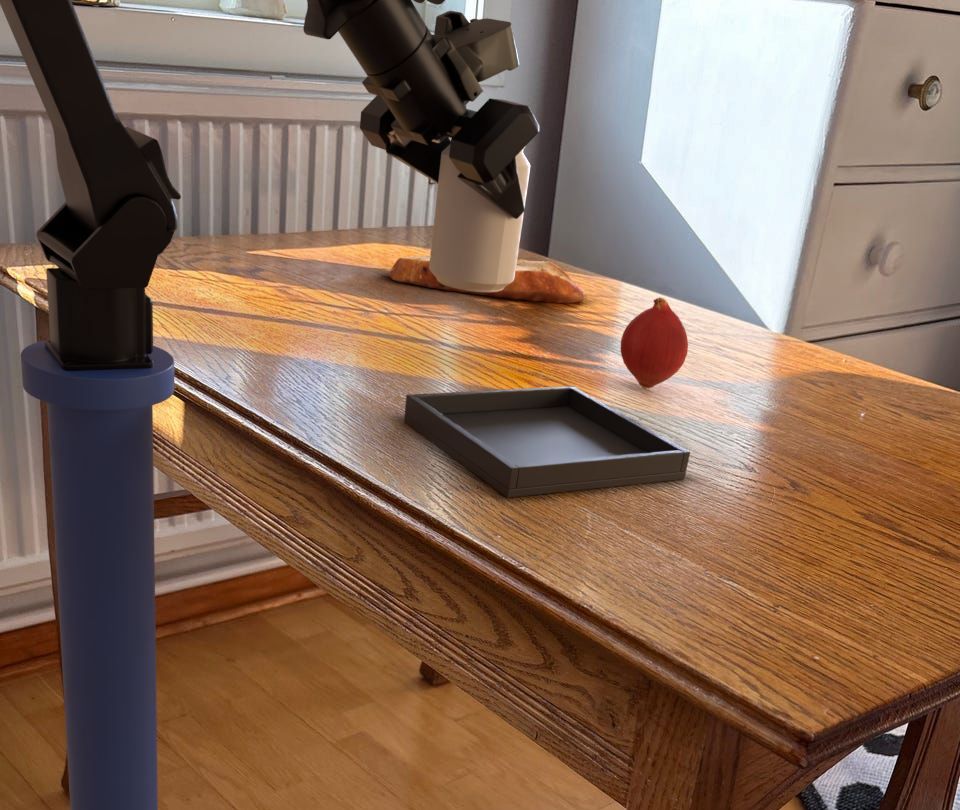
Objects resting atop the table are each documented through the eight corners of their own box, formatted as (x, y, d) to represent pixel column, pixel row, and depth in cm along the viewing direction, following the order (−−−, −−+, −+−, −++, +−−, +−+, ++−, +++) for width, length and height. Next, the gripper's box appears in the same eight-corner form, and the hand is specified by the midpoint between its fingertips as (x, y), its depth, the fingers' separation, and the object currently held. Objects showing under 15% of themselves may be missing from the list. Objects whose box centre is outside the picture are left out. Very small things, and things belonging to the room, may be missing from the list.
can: (480, 273, 107) (499, 132, 101) (529, 294, 102) (551, 146, 96) (411, 273, 103) (426, 126, 97) (458, 295, 98) (477, 141, 92)
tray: (507, 498, 77) (511, 468, 76) (403, 421, 88) (406, 394, 87) (684, 479, 85) (690, 451, 84) (568, 410, 96) (572, 385, 95)
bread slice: (375, 274, 131) (378, 240, 130) (488, 266, 143) (492, 234, 141) (487, 315, 121) (492, 278, 119) (599, 303, 133) (604, 269, 131)
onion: (641, 374, 108) (658, 287, 104) (691, 393, 105) (710, 303, 101) (601, 382, 104) (617, 291, 101) (651, 401, 101) (670, 308, 97)
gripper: (538, -19, 83) (626, 157, 94) (404, -34, 96) (496, 121, 107) (431, 94, 82) (533, 256, 93) (311, 63, 95) (413, 209, 106)
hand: (493, 205), depth 100 cm, fingers closed on can, 7 cm apart
